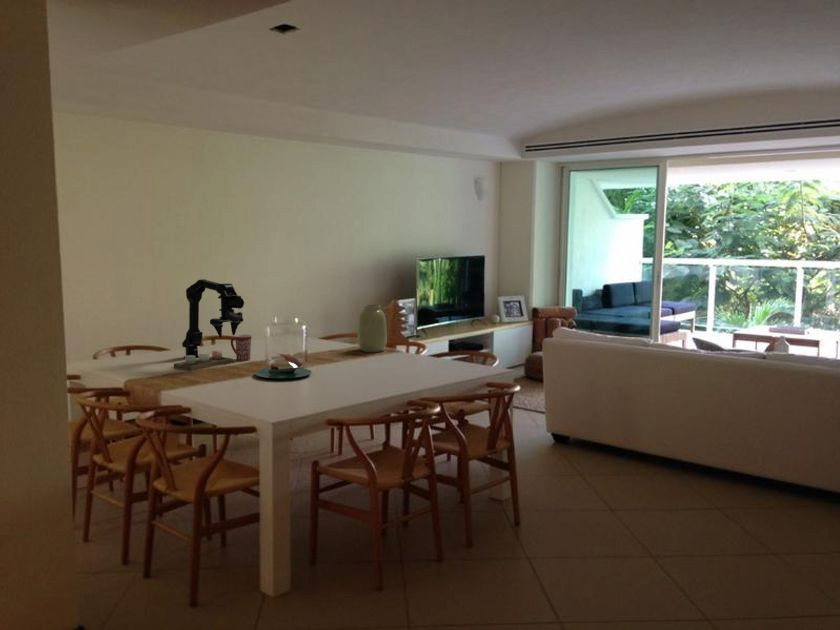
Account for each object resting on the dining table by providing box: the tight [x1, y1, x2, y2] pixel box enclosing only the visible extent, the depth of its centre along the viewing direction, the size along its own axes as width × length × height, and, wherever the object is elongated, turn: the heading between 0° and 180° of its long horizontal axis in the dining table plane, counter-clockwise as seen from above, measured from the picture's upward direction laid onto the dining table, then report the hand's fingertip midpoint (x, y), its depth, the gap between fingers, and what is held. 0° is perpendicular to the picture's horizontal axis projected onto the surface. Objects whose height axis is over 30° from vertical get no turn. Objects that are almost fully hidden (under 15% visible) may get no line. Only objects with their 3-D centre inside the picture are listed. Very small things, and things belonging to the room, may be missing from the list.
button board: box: [173, 356, 234, 371], centre depth 389 cm, size 14×28×2 cm, turn 148°
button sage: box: [184, 355, 197, 365], centre depth 381 cm, size 5×5×4 cm
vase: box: [357, 304, 388, 353], centre depth 440 cm, size 17×17×27 cm
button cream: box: [198, 352, 210, 362], centre depth 389 cm, size 5×5×4 cm
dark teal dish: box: [254, 353, 312, 379], centre depth 365 cm, size 28×28×11 cm
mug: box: [230, 334, 252, 362], centre depth 405 cm, size 13×9×14 cm
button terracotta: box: [211, 350, 223, 360], centre depth 396 cm, size 5×5×4 cm
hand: (227, 336), depth 393 cm, fingers open, 9 cm apart
